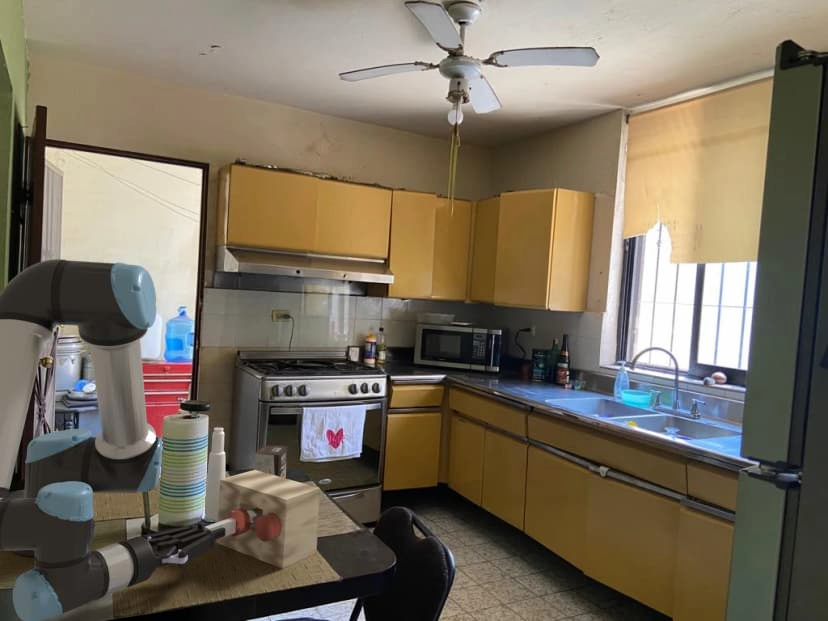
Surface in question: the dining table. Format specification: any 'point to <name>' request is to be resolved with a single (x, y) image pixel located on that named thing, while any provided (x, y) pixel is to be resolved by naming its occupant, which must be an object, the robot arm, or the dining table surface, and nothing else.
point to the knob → (244, 519)
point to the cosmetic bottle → (215, 474)
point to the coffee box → (271, 460)
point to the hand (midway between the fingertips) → (233, 525)
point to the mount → (272, 517)
